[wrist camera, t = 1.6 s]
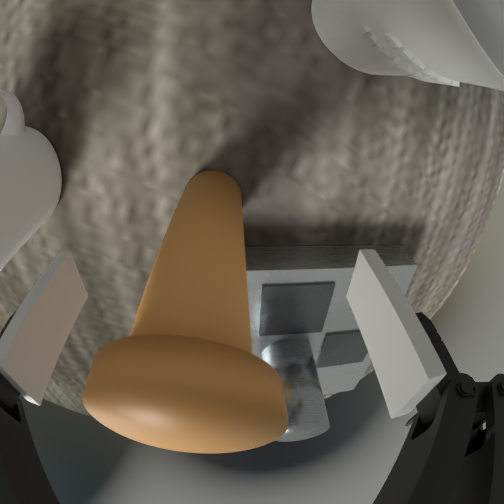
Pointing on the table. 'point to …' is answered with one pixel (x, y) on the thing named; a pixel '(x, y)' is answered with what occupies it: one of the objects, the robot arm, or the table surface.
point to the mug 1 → (24, 180)
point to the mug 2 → (417, 38)
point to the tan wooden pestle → (192, 340)
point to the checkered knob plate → (311, 322)
